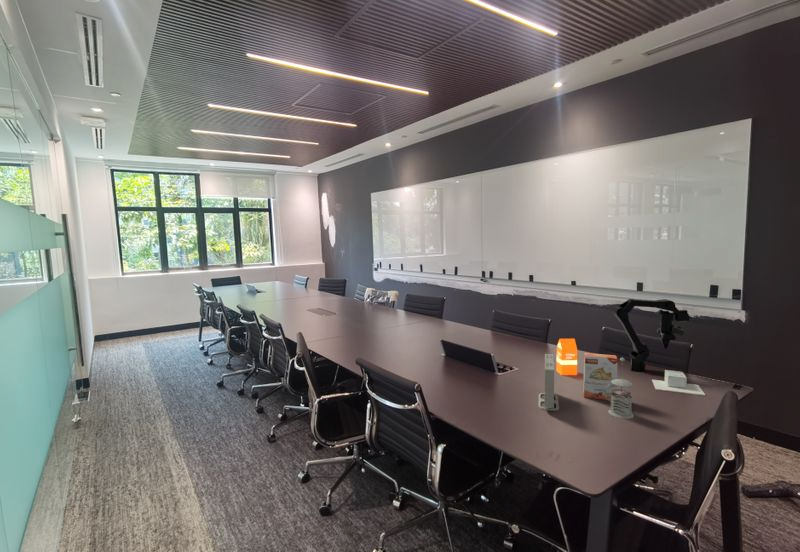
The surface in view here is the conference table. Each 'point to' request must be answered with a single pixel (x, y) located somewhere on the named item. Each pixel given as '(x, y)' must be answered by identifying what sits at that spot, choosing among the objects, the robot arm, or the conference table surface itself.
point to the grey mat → (688, 390)
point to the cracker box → (599, 375)
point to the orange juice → (567, 357)
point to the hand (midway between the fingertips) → (665, 348)
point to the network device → (549, 386)
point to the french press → (619, 409)
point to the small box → (675, 379)
